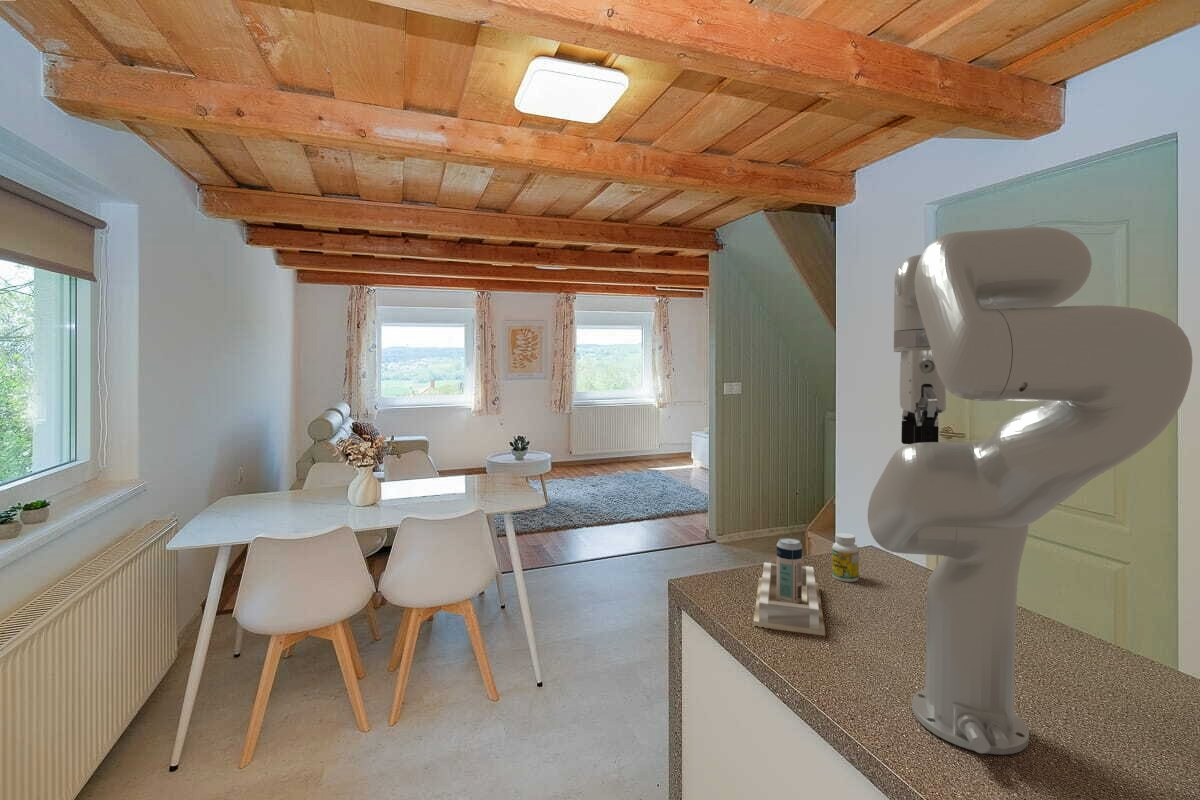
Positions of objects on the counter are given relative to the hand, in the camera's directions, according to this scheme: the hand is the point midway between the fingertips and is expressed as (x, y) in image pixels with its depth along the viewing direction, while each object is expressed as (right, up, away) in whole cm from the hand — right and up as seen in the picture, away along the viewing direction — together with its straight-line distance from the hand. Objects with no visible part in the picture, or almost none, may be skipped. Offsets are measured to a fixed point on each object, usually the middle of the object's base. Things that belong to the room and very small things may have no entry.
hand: (918, 447), depth 89 cm
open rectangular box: (-15, -33, +18) cm, 40 cm away
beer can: (-15, -32, +18) cm, 40 cm away
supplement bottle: (+3, -32, +33) cm, 46 cm away
